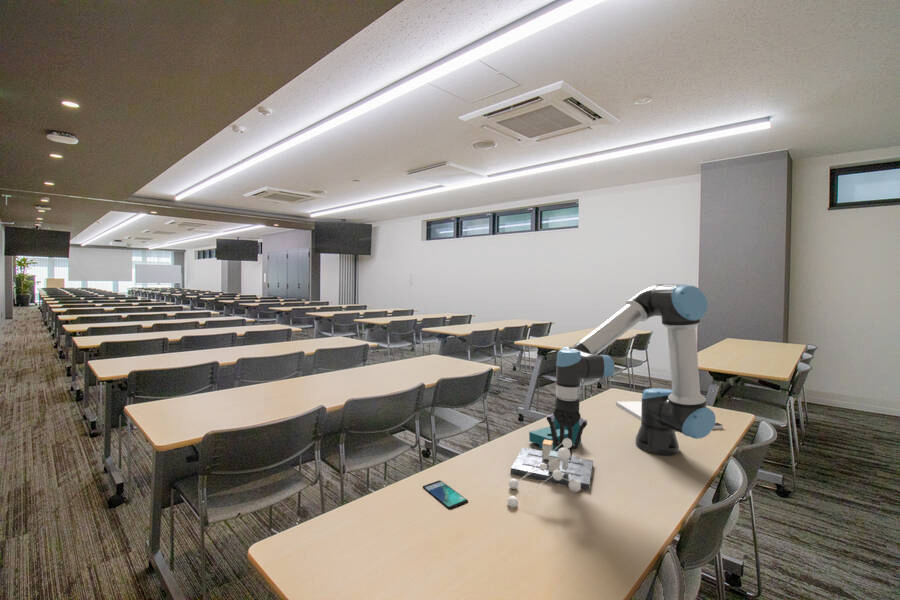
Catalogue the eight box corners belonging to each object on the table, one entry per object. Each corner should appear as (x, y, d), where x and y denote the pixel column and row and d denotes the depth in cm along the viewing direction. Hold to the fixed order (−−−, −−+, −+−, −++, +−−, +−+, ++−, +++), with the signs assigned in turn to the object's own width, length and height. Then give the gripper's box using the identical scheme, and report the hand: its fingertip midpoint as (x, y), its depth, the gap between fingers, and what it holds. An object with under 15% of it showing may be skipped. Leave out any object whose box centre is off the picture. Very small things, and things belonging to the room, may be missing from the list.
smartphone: (440, 479, 128) (469, 500, 115) (440, 481, 128) (469, 503, 115) (421, 486, 123) (449, 508, 111) (421, 488, 123) (449, 511, 111)
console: (592, 465, 139) (593, 460, 139) (589, 490, 123) (589, 484, 123) (522, 452, 149) (522, 447, 149) (510, 473, 133) (510, 467, 133)
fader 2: (559, 467, 132) (560, 452, 132) (557, 473, 129) (558, 456, 129) (550, 466, 134) (550, 450, 133) (548, 471, 130) (548, 455, 130)
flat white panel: (722, 424, 176) (658, 426, 173) (722, 430, 177) (657, 432, 173) (670, 400, 211) (615, 401, 208) (670, 405, 211) (615, 406, 208)
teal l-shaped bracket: (560, 435, 168) (559, 410, 168) (581, 442, 159) (580, 416, 159) (529, 444, 158) (528, 418, 158) (550, 452, 149) (549, 424, 149)
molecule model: (589, 509, 117) (599, 461, 111) (508, 516, 114) (513, 468, 108) (570, 472, 130) (578, 428, 124) (496, 478, 127) (500, 433, 121)
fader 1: (552, 455, 142) (552, 440, 141) (550, 460, 138) (551, 445, 138) (544, 453, 143) (544, 439, 143) (542, 458, 139) (542, 443, 139)
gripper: (589, 397, 129) (586, 467, 131) (548, 392, 134) (546, 459, 136) (587, 403, 122) (585, 477, 124) (545, 397, 128) (543, 469, 129)
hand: (565, 468), depth 130 cm, fingers closed
